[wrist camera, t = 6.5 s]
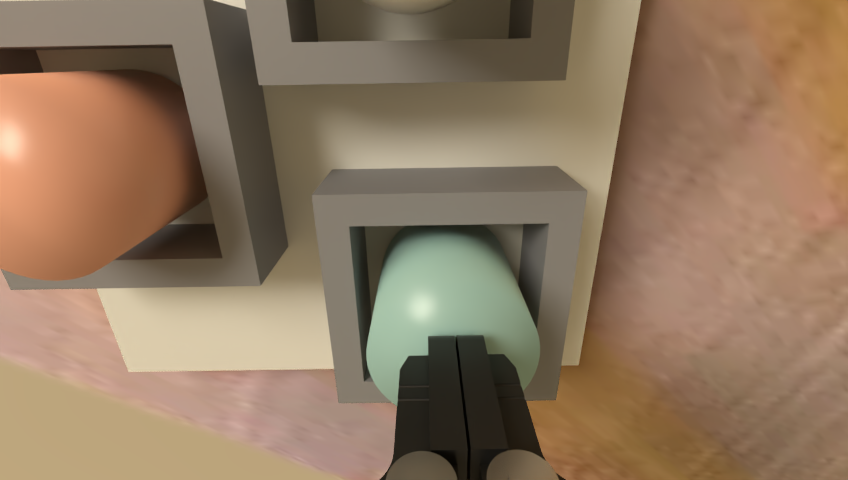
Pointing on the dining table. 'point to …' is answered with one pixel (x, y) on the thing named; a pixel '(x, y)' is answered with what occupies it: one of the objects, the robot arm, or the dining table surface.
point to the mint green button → (447, 301)
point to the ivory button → (409, 5)
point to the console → (349, 164)
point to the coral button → (90, 167)
